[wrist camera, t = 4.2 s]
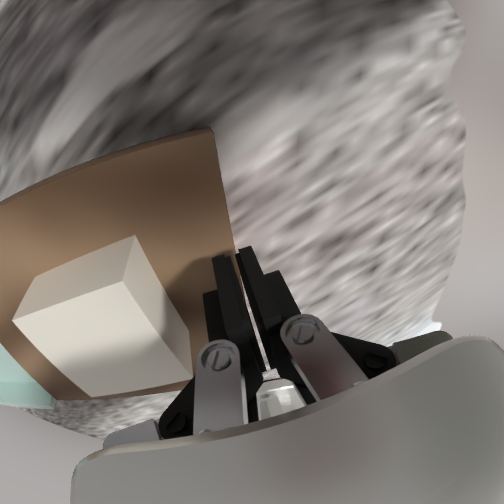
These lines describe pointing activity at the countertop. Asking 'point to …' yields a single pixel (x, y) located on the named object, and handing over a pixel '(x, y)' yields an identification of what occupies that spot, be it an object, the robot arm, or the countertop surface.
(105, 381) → the block
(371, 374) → the robot arm
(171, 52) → the countertop surface
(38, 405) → the tray
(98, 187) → the board
